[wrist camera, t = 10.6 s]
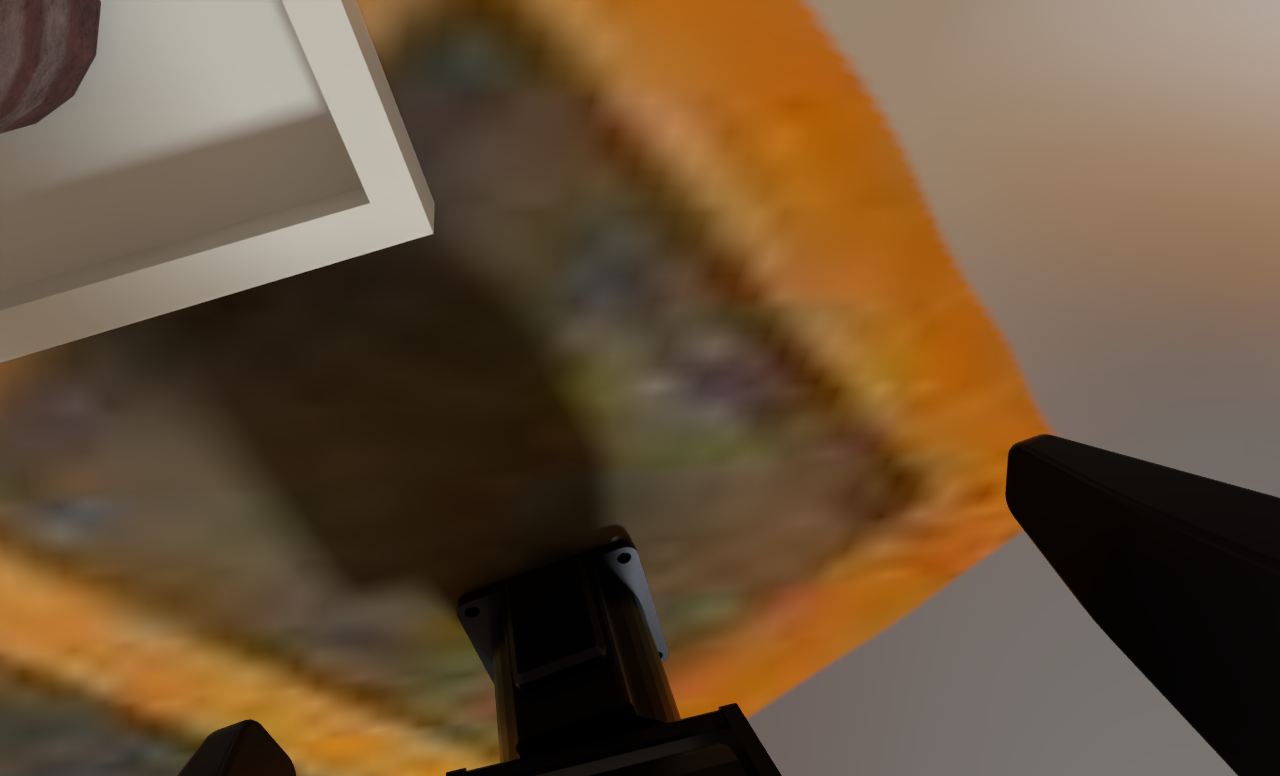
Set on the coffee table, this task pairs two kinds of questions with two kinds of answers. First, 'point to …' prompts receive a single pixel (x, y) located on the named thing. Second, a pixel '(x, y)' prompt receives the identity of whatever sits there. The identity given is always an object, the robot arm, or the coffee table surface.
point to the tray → (201, 166)
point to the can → (43, 56)
